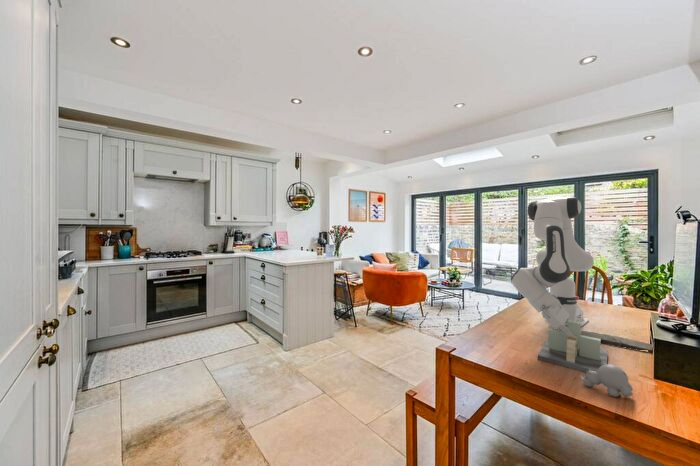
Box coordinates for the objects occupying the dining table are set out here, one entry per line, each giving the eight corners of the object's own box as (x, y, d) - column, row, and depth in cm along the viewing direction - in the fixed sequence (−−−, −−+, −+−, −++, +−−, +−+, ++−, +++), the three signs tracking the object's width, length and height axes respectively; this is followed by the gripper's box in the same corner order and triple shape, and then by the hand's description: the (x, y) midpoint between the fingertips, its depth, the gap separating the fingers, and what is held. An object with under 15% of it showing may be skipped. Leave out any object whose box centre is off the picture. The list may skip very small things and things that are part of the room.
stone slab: (565, 325, 146) (651, 339, 126) (565, 331, 147) (651, 347, 126) (562, 331, 139) (653, 347, 119) (562, 338, 139) (653, 355, 119)
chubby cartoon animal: (589, 389, 97) (578, 362, 100) (636, 390, 89) (623, 360, 91) (585, 397, 92) (573, 369, 95) (634, 399, 84) (620, 367, 86)
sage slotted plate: (548, 348, 120) (549, 318, 119) (549, 346, 122) (550, 316, 121) (599, 360, 109) (600, 327, 109) (600, 358, 111) (601, 325, 110)
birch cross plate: (548, 341, 131) (548, 321, 131) (607, 354, 118) (608, 332, 117) (537, 359, 113) (538, 336, 113) (606, 377, 100) (606, 351, 100)
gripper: (546, 303, 112) (578, 335, 106) (554, 294, 127) (582, 321, 121) (532, 312, 115) (562, 344, 109) (542, 302, 131) (569, 329, 124)
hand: (573, 332), depth 115 cm, fingers open, 8 cm apart
